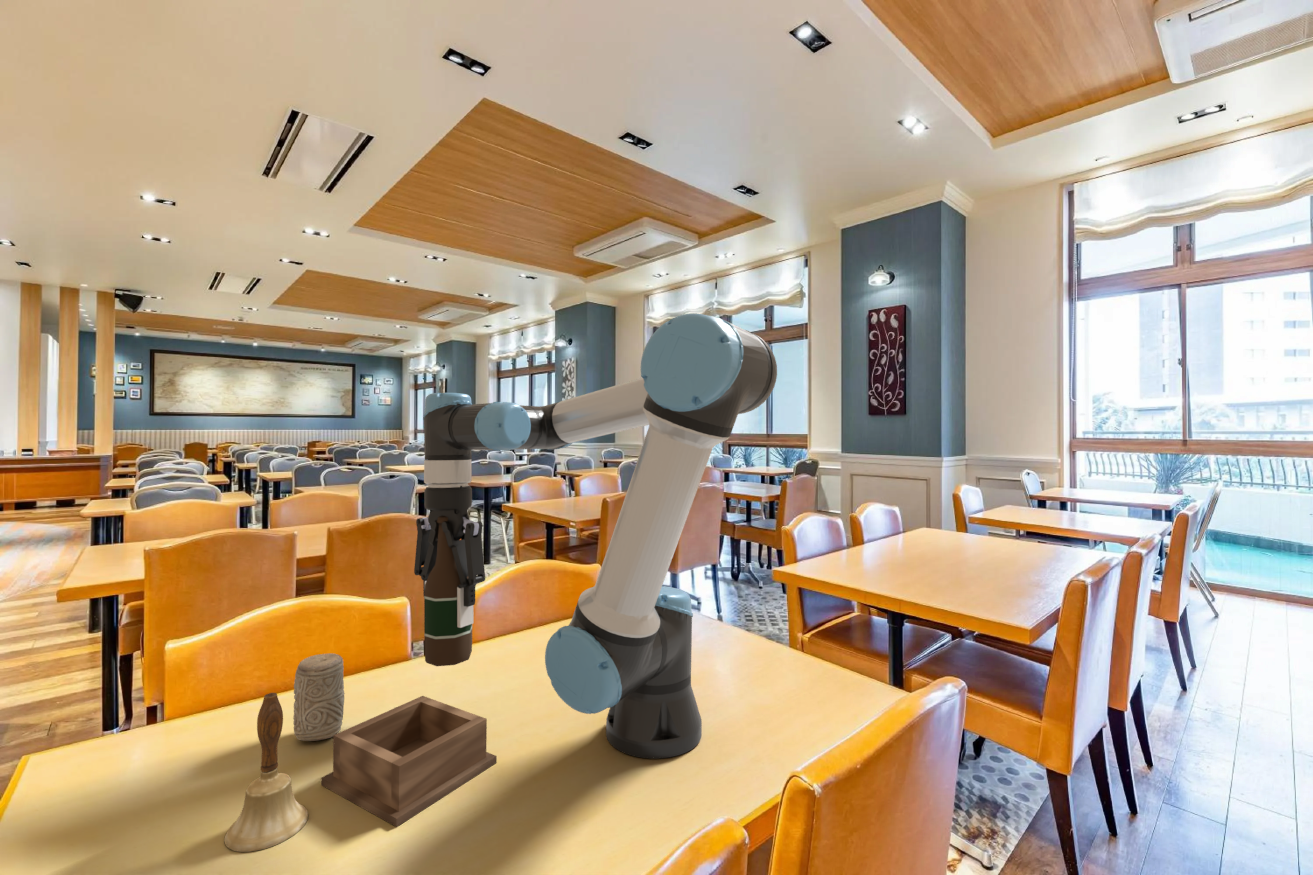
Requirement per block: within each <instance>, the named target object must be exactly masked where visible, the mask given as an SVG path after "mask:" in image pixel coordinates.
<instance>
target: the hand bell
mask: <svg viewBox="0 0 1313 875" xmlns="http://www.w3.org/2000/svg"><path fill="white" fill-rule="evenodd" d="M283 712H284V710H283V708H282V705H281V703H280V700H279V697H278V694H277V692H269V693H267V694H265V695H264V696H263V700H262V703H261V705H260V709H259V711H258V715H257V720H256V730H257V738H258V740H259V743H260V745H261V746H260V747H261V761H260V762H261V763H260V777H258V778H256V779H254V780H253V781H252V782H250V784H248V786H247V788H246V789H245V796H244V802H243V805H242V810H241V812H240V814H239V816H238V818H237V819H236V820H235V821H234V822H233V823H232V824H231V826H230V827H229V828H228V830H227V832H226V834H225V836H224V844H225V846H226V847H227V849H229V850H231V851H234V852H238V853H249V852H256V851H261V850H265V849H268V848H271V847H272V848H273V847H275V846H276V845H279V844H281V843H284V842H285V841H287V840H289V839H290V838H292V837H293V836H294V835H297V833H299V832H300V831H301V830H302V829H303V828H304V827H305V825H306V824H307V822H308V819H309V812H308V809H307V808H306V807H305V805H303V804H301V803H300V802H298V801H297V799H296V798H295V795H294V793H293V792H294V791H293V786H292V779H291V777H290V775H288V774H287V773H284V772H278V771H279V768H278V767H279V761H278V745H279V740H280V738H281V735H282V729H283V723H284V713H283Z"/></svg>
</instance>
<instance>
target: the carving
mask: <svg viewBox="0 0 1313 875" xmlns="http://www.w3.org/2000/svg"><path fill="white" fill-rule="evenodd" d="M344 668H345V667H344V659H343V657H342V656H341V655H340V654H336V653H333V652H332V653H331V652H330V653H322V654H315V655H314V654H313V655H310V656H308V657H306V658H304V659H302V660H301V661H300V662H299V664H298V665H297V668H296V670H295V676H294V683H293V689H294V690H293V694H294V696H293V699H294V702H293V717H292V719H293V733H294V736H295V737H296V739H297V740H298V741H302V742H303V741H304V742H305V741H306V742H314V741H316V742H317V741H321V740H326V739H330V738H333V735H335V734H337V733H340V732H341V729H342V726H343V720H344V705H345V690H344V689H345V686H344V685H345V683H344V681H345V680H344Z"/></svg>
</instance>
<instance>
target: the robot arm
mask: <svg viewBox="0 0 1313 875" xmlns="http://www.w3.org/2000/svg"><path fill="white" fill-rule="evenodd" d="M640 376H641V377H640V378H636V379H634V380H631V381H627V382H624V383H623V382H622V383H619V384H615V385H613V386H610V387H605V388H603V389H602V388H601V389H598V390H595V391H591V392H587V393H586V394H582V395H581V394H580V395H578V396H574V397H570V398H567V399H564V400H560V401H559V402H554V403H550V404H546V405H539V406H537V405H536V406H535V405H522V404H518V403H517V402H510V401H509V402H507V401H493V402H488V403H475V404H473V403H472V398H471V396H470V394H467V393H459V392H432V393H429V394H428V395H427V396H426V397H425V400H424V413H423V416H422V417H423V418H422V420H423V435H424V436H423V437H424V440H423V441H424V443H423V445H424V446H423V447H424V450H423V452H424V461H423V468H424V469H423V483H424V484H426V485H427V487H425V489H424V490H423V491H424V493H423V494H424V497H423V498H424V508H425V509H426V510H428V511H429V513H428V516H425V517H419V518H418V517H417V519H416V521H415V523H416V524H415V525H416V531H417V537H416V547H415V556H414V558H415V559H414V569H413V570H414V571H413V573H414V575H415V576H419V577H420V578H421V580H422V581H423V585H422V588H423V589H422V590H423V594H422V595H423V596H424V594H425V584H426V581H427V578H428V576H429V574H430V572H431V571H432V569H433V567H434V566H435V563H436V557H437V544H438V528H439V524H438V523H437V519H438V517H439V516H446V517H448V520H447V521H446V522H442V529H443V532H444V533H445V535H446V539H447V543H448V546H449V547H450V548H451V549H452V552H453V556H454V560H455V563H456V567H457V571H458V575H459V579H460V582H461V584H460V585H458V587H457V627H459V628H462V627H464V626H467V625H470V624H472V625H473V624H475V623H474V606H475V605H476V585H477V584H480V583H483V582H485V581H486V572H485V571H486V570H485V562H484V552H483V544H482V543H483V542H482V532H483V523H482V522H483V521H472V520H471V519H470V516H469V513H468V510H469V509H470V508H471V507H472V505H473V488H472V487H471V485H469V484H471V482H472V473H473V472H472V456H473V455H472V451H473V450H474V451H479V450H480V451H481V450H482V451H494V452H501V451H502V452H503V451H504V452H507V451H510V450H511V451H512V450H513V451H515V450H550V451H553V450H559V449H564V448H568V447H570V446H571V445H572V444H573V443H577V442H580V441H585V440H589V439H594V438H598V437H602V436H608V435H611V434H616V433H620V432H624V431H628V430H633V429H637V428H641V427H647V426H648V429H647V431H646V433H645V434H646V435H645V438H644V440H643V443H642V447H641V450H640V453H639V456H638V457H637V461H636V464H635V467H634V471H633V473H632V475H631V479H630V482H629V485H628V487H627V491H626V493H625V496H624V499H623V503H622V506H621V509H620V511H619V515H618V518H617V520H616V524H615V525H614V529H613V532H612V535H611V538H610V541H609V544H608V547H607V550H606V552H605V554H604V555H605V556H604V557H603V558H604V559H603V561H602V564H601V567H600V570H599V574H598V576H597V579H596V582H595V585H594V586H593V587H589V588H587V589H585V590H584V591H582V592H581V594H580V595H579V597H578V599H577V604H576V606H575V609H574V612H573V615H572V618H571V620H570V622H569V624H568V625H563V626H562V627H559V628H558V629H557V631H555V632H554V633H553V634H552V635H551V636H550V638H549V640H548V641H547V644H546V647H545V652H544V663H545V665H544V666H545V671H546V674H547V676H548V677H549V679H550V683H551V686H552V688H553V690H554V691H555V693H556V694H557V696H558V697H559V698H560V699H561V700H562V702H564V703H565V704H566V705H567V706H568V707H570V708H571V709H573V710H575V711H576V712H579V713H582V714H587V715H588V714H589V715H592V714H593V715H595V714H598V713H601V712H603V711H605V710H606V709H609V710H608V713H607V716H606V720H605V721H606V723H605V724H606V726H605V727H606V728H605V729H606V730H605V734H606V736H605V737H606V740H607V742H608V743H609V744H610V745H611V746H612V747H613V748H614V749H616V750H617V751H619V752H621V753H623V754H625V755H626V754H627V755H629V756H631V757H636V758H642V759H667V758H673V757H676V756H677V757H678V756H680V755H683V754H686V753H688V752H690V751H691V750H693V749H694V748H695V747H697V745H698V744H699V743H700V742H701V739H702V734H703V733H702V726H703V725H702V724H703V722H702V717H701V713H700V711H699V710H700V709H699V707H698V706H699V705H698V703H697V700H696V697H695V694H694V690H693V687H692V645H693V644H692V643H693V642H692V639H693V638H692V636H693V633H692V632H693V630H692V628H693V616H694V614H693V611H692V599H691V597H690V596H691V595H689V593H687V591H684V590H682V589H680V588H676V587H672V586H665V585H664V581H665V579H666V576H667V573H668V571H669V569H670V565H671V563H672V559H673V558H674V554H675V552H676V549H677V546H678V544H679V542H680V538H681V536H682V533H683V530H684V527H685V525H686V523H687V519H688V516H689V514H690V511H691V509H692V506H693V503H694V500H695V497H696V495H697V492H698V489H699V487H700V484H701V481H702V478H703V476H704V472H705V471H706V467H707V465H708V462H709V459H710V456H711V453H712V451H713V448H714V447H716V445H719V444H720V443H724V442H726V441H727V440H729V439H730V437H731V434H732V431H733V428H734V426H735V423H736V421H737V419H738V418H737V417H738V415H741V414H746V413H749V412H752V411H754V410H755V409H757V408H759V407H760V406H761V405H763V404H764V403H765V402H766V401H767V400H768V398H769V397H770V396H771V394H772V392H773V390H774V388H775V385H776V382H777V378H778V363H777V360H776V356H775V354H774V353H773V350H772V348H771V347H770V346H769V344H768V343H767V342H766V341H765V340H764V339H763V338H761V337H760V336H759V335H757V334H756V333H753V332H751V331H749V330H746V329H744V328H742V327H740V326H737V325H735V324H733V323H731V322H729V321H727V320H725V319H722V318H720V317H718V316H712V315H709V314H703V313H697V312H695V313H684V314H683V313H682V314H680V315H677V316H674V317H672V318H671V319H670V320H668V321H666V322H664V323H663V324H661V325H660V326H659V327H658V328H657V329H656V330H655V332H653V333H652V335H651V336H650V337H649V339H648V340H647V343H646V344H645V347H644V349H643V352H642V356H641V360H640ZM457 540H458V541H457ZM467 576H468V579H467ZM663 585H664V586H663Z"/></svg>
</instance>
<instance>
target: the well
mask: <svg viewBox="0 0 1313 875" xmlns="http://www.w3.org/2000/svg"><path fill="white" fill-rule="evenodd" d="M487 721H488V720H487V718H486V717H483V716H480V715H477V714H474V713H471V712H469V711H467V710H463V709H460V708H458V707H455V706H453V705H449V704H447V703H444V702H441V701H438V700H436V699H433V698H430V697H428V696H426V695H425V696H424V695H421V696H418V697H416V698H414V699H412V700H410V701H408V702H405V703H402V704H401V705H398V706H396V707H394V708H392V709H390V710H389V709H388V710H387V711H385V712H383V713H381V714H379V715H376V716H374V717H371V718H369V719H367V720H365V721H363V722H360V723H358V724H356V725H354V726H351V727H349V728H348V729H347V728H346V729H344V730H342V731H339V732H338V733H337V734H335V735H333V737H332V739H333V741H332V742H333V745H332V746H333V748H332V750H333V751H332V755H333V756H332V772H330V773H327V774H326V775H324V776H322V777H320V778H321V779H320V780H321V782H320V784H321V786H323V787H324V788H326V789H328V790H329V791H331V792H333V793H334V794H336V795H339V796H340V797H342V798H344V799H345V800H348V801H349V802H351V803H352V804H354V805H356V806H358V807H360V808H362V809H363V810H366V811H367V812H369V813H371V815H372V814H373V815H374V816H376V817H378V818H379V819H382V820H383V821H385V822H387V823H389V824H390V825H393V826H394V827H397V828H398V827H399V826H400V825H402V824H404V823H406V822H407V821H408V820H409V821H410V819H412V818H414V816H416V815H418V814H419V813H421V812H422V811H424V810H426V809H427V808H429V807H430V806H432V805H433V804H435V803H436V802H438V801H440V800H441V799H442V798H444V797H446V796H447V795H450V794H451V793H452V792H454V791H455V790H457V789H458V788H460V787H462V786H463V785H465V784H466V783H468V782H469V781H471V780H472V779H473V778H475V777H477V776H479V775H480V774H481V773H483V772H485V771H486V770H488V769H489V768H491V767H492V766H494V765H495V764H497V755H495V754H493V753H491V752H487V730H488V729H487Z"/></svg>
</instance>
